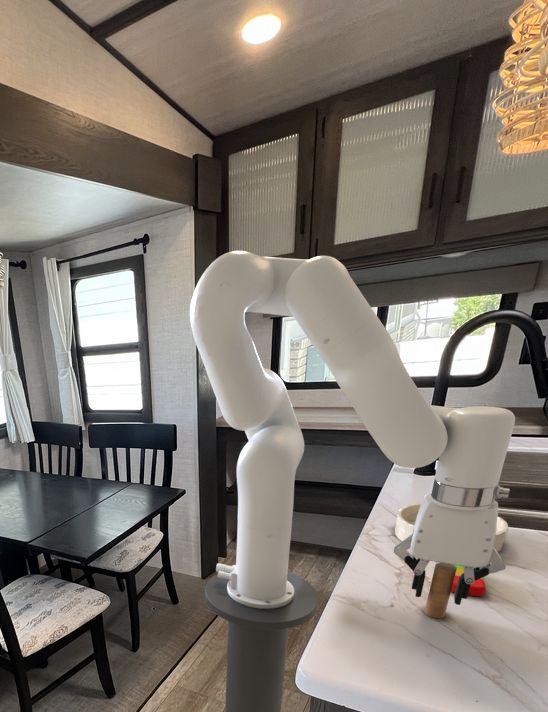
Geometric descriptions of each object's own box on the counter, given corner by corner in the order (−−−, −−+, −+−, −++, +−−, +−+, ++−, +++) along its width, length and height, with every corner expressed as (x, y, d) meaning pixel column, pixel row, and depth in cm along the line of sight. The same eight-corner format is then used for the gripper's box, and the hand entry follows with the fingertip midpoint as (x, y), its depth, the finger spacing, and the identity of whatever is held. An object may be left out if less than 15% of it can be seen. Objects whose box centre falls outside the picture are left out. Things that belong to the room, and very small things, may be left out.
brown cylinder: (424, 615, 78) (435, 568, 74) (424, 607, 80) (435, 561, 76) (444, 620, 76) (457, 572, 73) (444, 611, 79) (456, 564, 75)
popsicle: (446, 592, 83) (449, 583, 83) (437, 556, 95) (439, 548, 95) (485, 598, 81) (488, 589, 80) (471, 560, 93) (473, 552, 92)
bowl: (391, 547, 100) (395, 528, 99) (397, 516, 115) (400, 499, 113) (506, 564, 90) (513, 543, 88) (497, 527, 105) (503, 509, 103)
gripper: (533, 490, 68) (501, 597, 75) (397, 480, 77) (380, 576, 84) (542, 508, 62) (505, 621, 70) (394, 494, 71) (376, 596, 79)
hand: (437, 595), depth 77 cm, fingers open, 4 cm apart
